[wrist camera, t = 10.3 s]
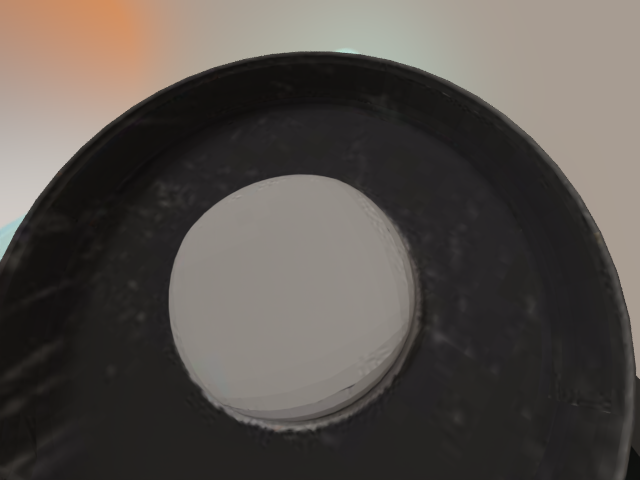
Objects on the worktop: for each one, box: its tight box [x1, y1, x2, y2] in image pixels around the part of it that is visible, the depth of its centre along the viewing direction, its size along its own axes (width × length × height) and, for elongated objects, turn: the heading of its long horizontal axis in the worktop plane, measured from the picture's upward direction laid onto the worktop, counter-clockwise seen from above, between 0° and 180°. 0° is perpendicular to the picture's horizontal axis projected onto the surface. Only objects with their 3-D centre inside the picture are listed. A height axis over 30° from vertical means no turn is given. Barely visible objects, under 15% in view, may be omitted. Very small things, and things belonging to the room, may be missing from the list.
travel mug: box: [0, 52, 636, 480], centre depth 13 cm, size 8×8×20 cm
